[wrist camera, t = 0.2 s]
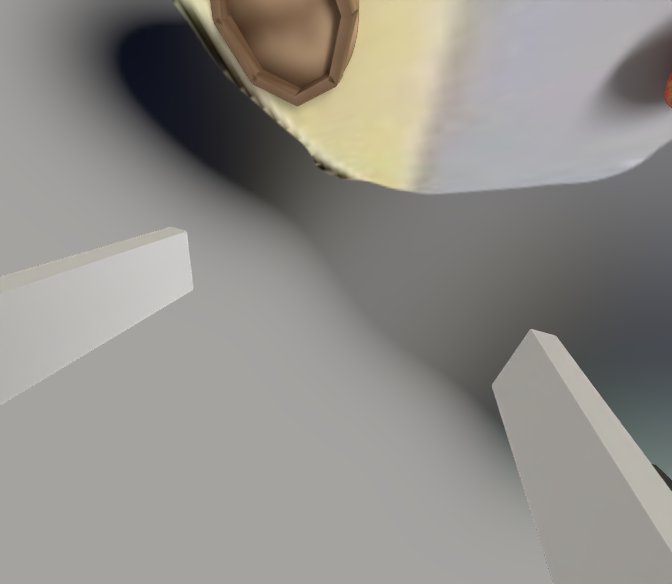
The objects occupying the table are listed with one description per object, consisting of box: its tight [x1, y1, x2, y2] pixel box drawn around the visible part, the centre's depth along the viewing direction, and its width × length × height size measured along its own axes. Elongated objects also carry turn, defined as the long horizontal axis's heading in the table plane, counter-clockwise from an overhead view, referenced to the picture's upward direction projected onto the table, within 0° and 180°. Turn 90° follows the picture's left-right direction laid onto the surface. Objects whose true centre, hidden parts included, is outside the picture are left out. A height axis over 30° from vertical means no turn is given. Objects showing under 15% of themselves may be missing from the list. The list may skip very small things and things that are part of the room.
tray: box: [210, 0, 359, 106], centre depth 30 cm, size 17×17×3 cm
